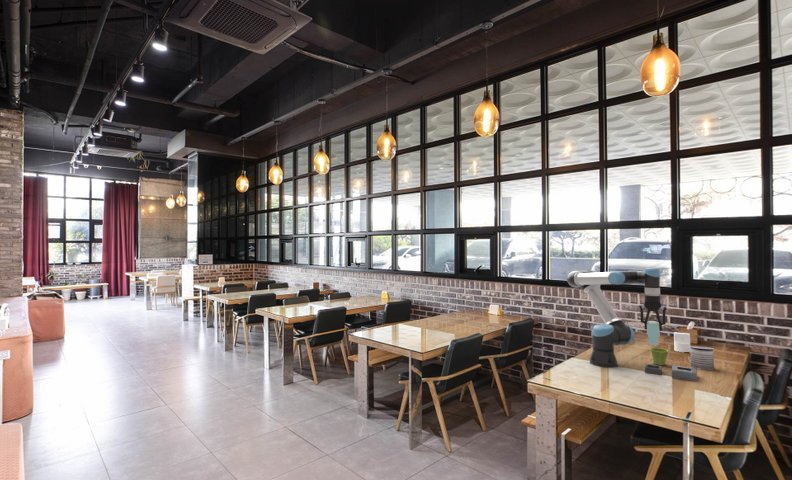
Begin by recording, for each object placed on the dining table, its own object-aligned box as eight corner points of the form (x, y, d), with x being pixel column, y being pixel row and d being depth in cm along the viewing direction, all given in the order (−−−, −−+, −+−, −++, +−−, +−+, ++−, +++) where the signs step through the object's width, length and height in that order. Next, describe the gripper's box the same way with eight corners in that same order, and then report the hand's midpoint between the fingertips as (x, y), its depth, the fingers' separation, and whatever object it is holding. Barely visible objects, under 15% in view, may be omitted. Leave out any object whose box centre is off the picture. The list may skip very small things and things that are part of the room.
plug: (648, 344, 231) (648, 321, 231) (649, 342, 234) (648, 320, 235) (657, 345, 228) (657, 322, 228) (658, 343, 232) (657, 321, 232)
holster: (644, 372, 230) (644, 367, 230) (646, 369, 237) (645, 363, 237) (660, 374, 226) (660, 369, 226) (661, 371, 232) (661, 366, 232)
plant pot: (671, 366, 241) (671, 352, 241) (654, 366, 243) (653, 351, 243) (664, 362, 250) (664, 348, 250) (647, 361, 252) (647, 347, 252)
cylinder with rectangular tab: (689, 350, 278) (689, 332, 278) (690, 353, 270) (690, 335, 270) (674, 348, 282) (673, 331, 283) (674, 351, 275) (674, 333, 275)
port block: (672, 377, 221) (671, 369, 222) (672, 372, 230) (672, 364, 230) (697, 381, 215) (696, 373, 215) (696, 375, 224) (696, 367, 224)
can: (689, 367, 239) (688, 347, 240) (691, 363, 248) (691, 343, 248) (713, 371, 232) (712, 350, 232) (715, 366, 240) (714, 346, 240)
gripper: (634, 294, 234) (634, 335, 233) (670, 296, 224) (671, 338, 223) (635, 293, 240) (636, 332, 239) (671, 295, 230) (672, 336, 229)
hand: (653, 335), depth 231 cm, fingers closed on plug, 4 cm apart
